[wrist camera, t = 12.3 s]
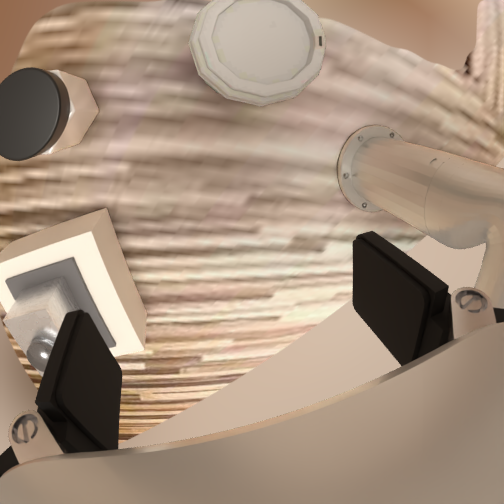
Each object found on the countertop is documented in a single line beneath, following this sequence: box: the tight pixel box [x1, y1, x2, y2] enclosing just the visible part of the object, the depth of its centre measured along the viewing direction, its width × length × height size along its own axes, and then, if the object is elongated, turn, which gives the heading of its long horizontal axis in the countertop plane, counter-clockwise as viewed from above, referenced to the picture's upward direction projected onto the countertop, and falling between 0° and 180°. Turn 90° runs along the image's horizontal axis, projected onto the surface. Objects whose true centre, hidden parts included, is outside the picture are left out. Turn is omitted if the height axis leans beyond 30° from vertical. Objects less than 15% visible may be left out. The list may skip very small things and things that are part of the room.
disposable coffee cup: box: [188, 0, 326, 106], centre depth 24 cm, size 11×11×15 cm
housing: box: [3, 276, 80, 377], centre depth 26 cm, size 6×9×7 cm, turn 10°
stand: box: [0, 208, 147, 357], centre depth 33 cm, size 16×16×9 cm
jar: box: [0, 67, 99, 161], centre depth 23 cm, size 9×8×12 cm
